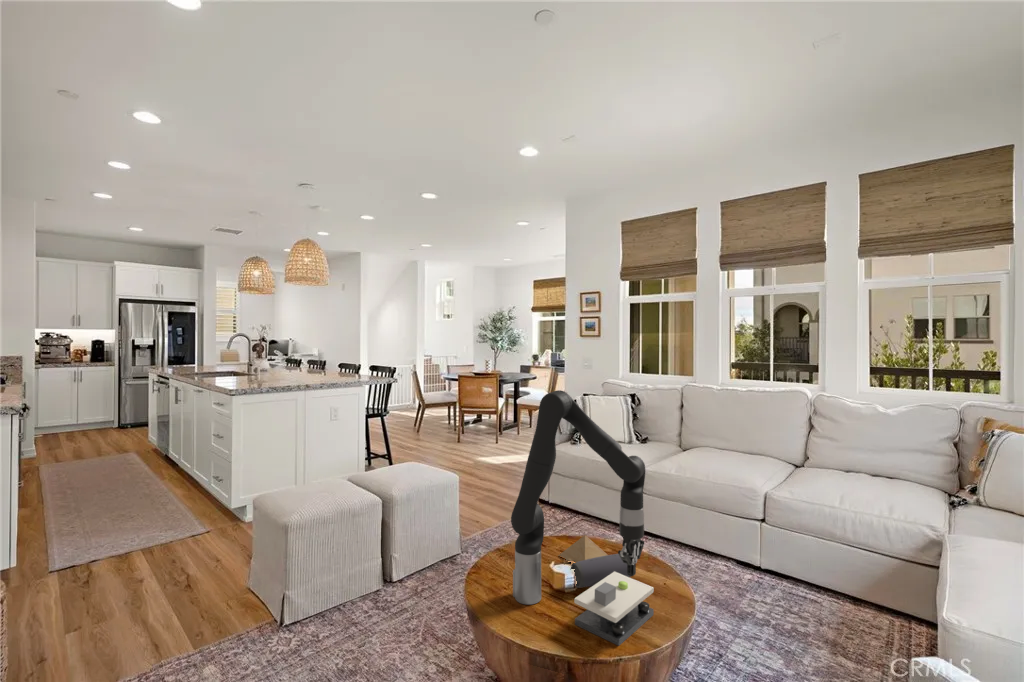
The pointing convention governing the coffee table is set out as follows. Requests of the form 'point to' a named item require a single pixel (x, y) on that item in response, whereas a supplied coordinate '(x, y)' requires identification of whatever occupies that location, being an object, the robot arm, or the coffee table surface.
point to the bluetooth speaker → (597, 569)
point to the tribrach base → (607, 624)
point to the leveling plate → (621, 597)
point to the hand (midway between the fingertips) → (631, 574)
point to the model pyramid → (582, 550)
